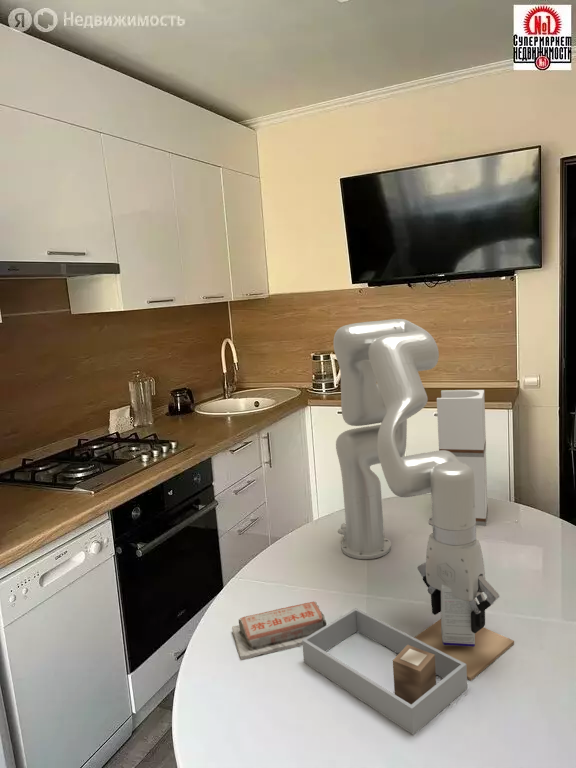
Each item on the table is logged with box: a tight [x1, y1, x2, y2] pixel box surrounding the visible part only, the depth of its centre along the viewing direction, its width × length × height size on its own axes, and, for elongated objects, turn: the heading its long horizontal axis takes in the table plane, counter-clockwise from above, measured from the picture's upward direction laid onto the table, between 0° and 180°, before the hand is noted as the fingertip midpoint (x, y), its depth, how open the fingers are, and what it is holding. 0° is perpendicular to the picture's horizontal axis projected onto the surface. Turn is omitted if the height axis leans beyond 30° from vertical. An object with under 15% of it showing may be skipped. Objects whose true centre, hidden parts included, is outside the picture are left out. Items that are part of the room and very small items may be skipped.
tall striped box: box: [436, 389, 489, 527], centre depth 163 cm, size 11×11×35 cm
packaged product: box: [231, 601, 328, 661], centre depth 118 cm, size 18×5×10 cm
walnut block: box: [392, 645, 437, 704], centre depth 98 cm, size 5×5×7 cm
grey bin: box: [302, 607, 468, 735], centre depth 104 cm, size 25×14×4 cm, turn 40°
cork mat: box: [413, 618, 515, 682], centre depth 110 cm, size 14×14×1 cm
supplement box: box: [440, 585, 475, 647], centre depth 109 cm, size 6×6×12 cm
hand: (457, 619), depth 109 cm, fingers closed on supplement box, 7 cm apart
